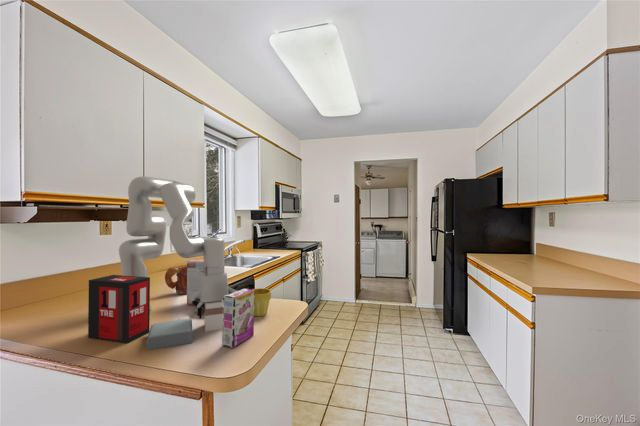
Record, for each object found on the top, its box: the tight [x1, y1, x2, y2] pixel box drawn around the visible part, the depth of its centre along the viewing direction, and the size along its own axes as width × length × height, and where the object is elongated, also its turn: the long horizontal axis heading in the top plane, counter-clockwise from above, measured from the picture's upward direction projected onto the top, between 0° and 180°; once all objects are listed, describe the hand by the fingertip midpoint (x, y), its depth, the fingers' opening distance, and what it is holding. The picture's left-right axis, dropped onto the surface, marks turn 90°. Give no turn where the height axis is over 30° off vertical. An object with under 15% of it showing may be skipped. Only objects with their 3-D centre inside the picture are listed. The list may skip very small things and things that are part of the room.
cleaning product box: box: [87, 274, 151, 344], centre depth 100 cm, size 16×9×20 cm, turn 77°
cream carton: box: [203, 301, 223, 332], centre depth 108 cm, size 6×7×10 cm
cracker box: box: [186, 259, 204, 306], centre depth 135 cm, size 14×6×21 cm, turn 84°
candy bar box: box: [221, 288, 255, 349], centre depth 97 cm, size 11×5×16 cm, turn 157°
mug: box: [164, 265, 187, 295], centre depth 151 cm, size 15×8×15 cm, turn 144°
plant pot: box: [251, 287, 272, 317], centre depth 123 cm, size 10×10×10 cm
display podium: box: [146, 318, 193, 351], centre depth 98 cm, size 13×13×4 cm
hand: (214, 315), depth 108 cm, fingers open, 9 cm apart
